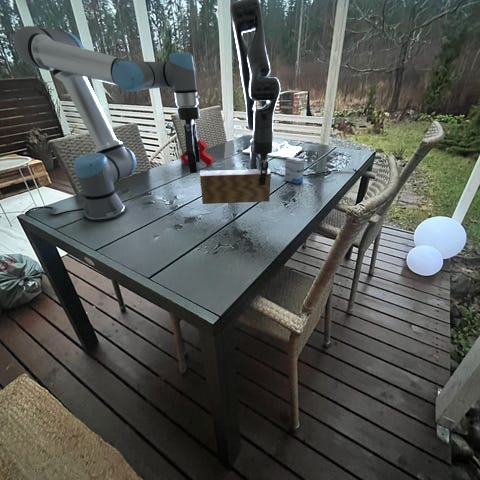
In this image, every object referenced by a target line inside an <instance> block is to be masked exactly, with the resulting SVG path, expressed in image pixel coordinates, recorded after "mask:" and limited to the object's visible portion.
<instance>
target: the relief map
mask: <svg viewBox="0 0 480 480" xmlns="http://www.w3.org/2000/svg"><path fill="white" fill-rule="evenodd" d="M302 147H303V146H294V145H292V144H290V143H289V142H288V141H284V142H282V143H280V144H279V143H278V142H276V141H273V144H272V152H271V153H269V154H268V157H271V158H277V159H285V160H286V159H287V158H289V157H296V156H297V155H298V154H299V153H300V152H302V151H303V150H304V148H303V149H302ZM250 148H251V145H250V146H249V147H248V148H247V149H245V150H242V153H243V154H247V155H248V154H249V155H250ZM296 153H297V154H296Z"/></svg>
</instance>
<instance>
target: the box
mask: <svg viewBox="0 0 480 480" xmlns="http://www.w3.org/2000/svg"><path fill="white" fill-rule="evenodd" d="M269 169H270V168H268V169H267V176H266V177H265V185H260V175H259V174H260V172H259V170H258V169H250V168H249V169H219V170H215V169H214V170H200V173H199V174H200V175H199V179H200V181H199V182H200V190H201V192H200V193H201V201H202V202H201V203H202V205H215V204H216V205H218V204H244V203H245V204H246V203H248V204H249V203H269V202H270V198H271V197H270V196H271V179H272V173H270V171H271V170H270V171H269ZM262 173H264V171H262Z"/></svg>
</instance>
